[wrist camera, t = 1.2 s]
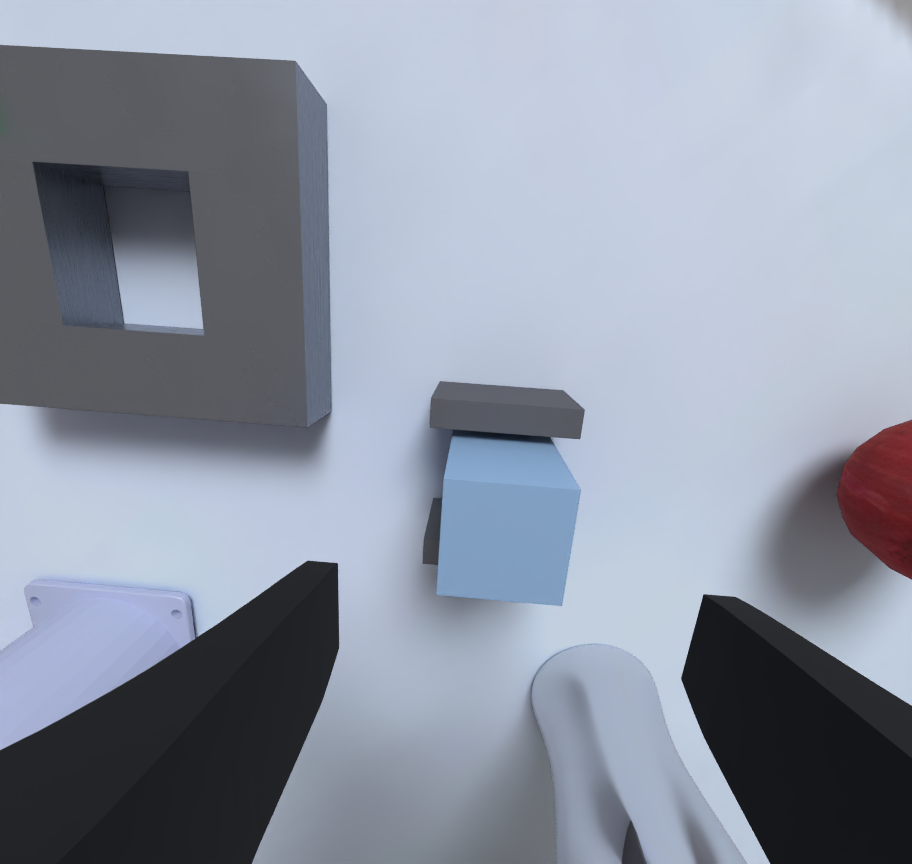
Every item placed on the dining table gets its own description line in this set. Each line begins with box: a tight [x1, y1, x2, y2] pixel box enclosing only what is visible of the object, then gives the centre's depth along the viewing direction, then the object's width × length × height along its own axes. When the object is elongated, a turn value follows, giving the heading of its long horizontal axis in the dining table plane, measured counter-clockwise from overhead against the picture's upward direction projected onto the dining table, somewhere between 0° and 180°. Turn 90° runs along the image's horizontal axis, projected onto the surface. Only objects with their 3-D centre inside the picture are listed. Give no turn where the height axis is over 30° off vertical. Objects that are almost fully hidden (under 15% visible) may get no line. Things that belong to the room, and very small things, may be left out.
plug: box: [436, 429, 581, 606], centre depth 15 cm, size 4×4×7 cm
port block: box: [0, 45, 331, 427], centre depth 15 cm, size 11×12×3 cm
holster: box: [423, 381, 585, 565], centre depth 16 cm, size 6×5×4 cm
